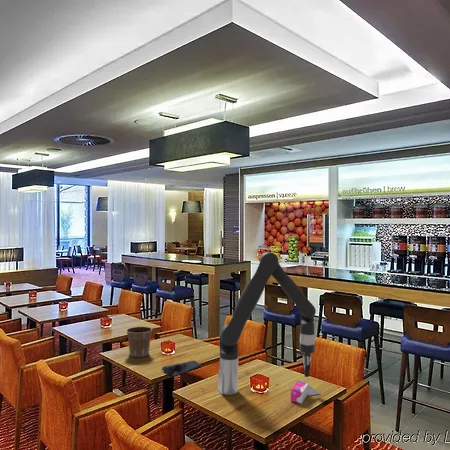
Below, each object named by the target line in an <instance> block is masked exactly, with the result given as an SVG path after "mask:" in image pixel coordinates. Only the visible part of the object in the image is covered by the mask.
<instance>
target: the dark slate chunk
mask: <svg viewBox="0 0 450 450" xmlns="http://www.w3.org/2000/svg"><path fill="white" fill-rule="evenodd" d="M201 367H202V365H201V363H199V362H197V361H196V360H189V361H185V362H179V363H173V364H169V365H164V366H162V367H161V369H160V370H161V371H162V372H164V373H165V374H167V375H170V376H173V377H176V376H179V375H183V374H187V373H188V372H191V371H195V370H197V369H198V368H201Z"/></svg>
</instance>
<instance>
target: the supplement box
mask: <svg viewBox="0 0 450 450" xmlns="http://www.w3.org/2000/svg"><path fill="white" fill-rule="evenodd" d="M308 386H310V384H309V382H305V381H300V380H297V381H296V382H295V384H294V385H293V386H292V387H291V388H290V389H291V390H290V400H289V401H291V402H295V403H296V404H297V403H299V404H303V402H304V401H305V399H306V397H308V396H307V394H308Z"/></svg>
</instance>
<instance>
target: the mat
mask: <svg viewBox="0 0 450 450" xmlns="http://www.w3.org/2000/svg"><path fill="white" fill-rule="evenodd" d="M319 395H320V396H321V393H320V392H318V391H317V390H316V389H314V388H313V387H312V386H310V385H308V394H307V396H306V397H311V396H313V397H314V396H319Z"/></svg>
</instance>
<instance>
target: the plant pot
mask: <svg viewBox="0 0 450 450" xmlns="http://www.w3.org/2000/svg"><path fill="white" fill-rule="evenodd" d="M125 331H126V333H127V339H128V340H127V341H128V350H129V351H128V352H129V356H130V357H131V358H136V357H137V358H145V357H147V356H149V354H150V347H151V346H150V344H151V336H152V331H153V328H152V327H149V326H133V327H130V328H126V330H125Z"/></svg>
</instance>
